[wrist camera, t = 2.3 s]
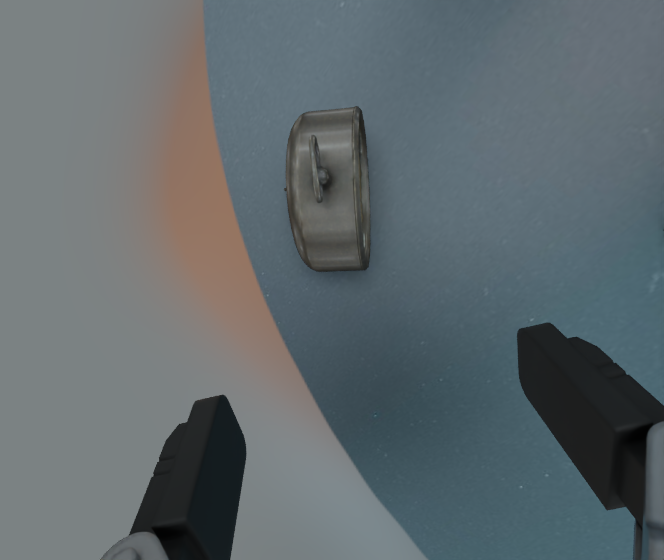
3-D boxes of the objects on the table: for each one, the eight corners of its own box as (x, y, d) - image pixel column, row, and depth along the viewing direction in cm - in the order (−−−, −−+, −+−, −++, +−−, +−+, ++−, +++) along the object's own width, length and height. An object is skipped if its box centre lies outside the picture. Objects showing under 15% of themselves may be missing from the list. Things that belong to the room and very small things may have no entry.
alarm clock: (371, 268, 35) (373, 274, 19) (309, 270, 36) (260, 278, 20) (367, 139, 35) (365, 34, 19) (304, 142, 35) (249, 44, 19)
